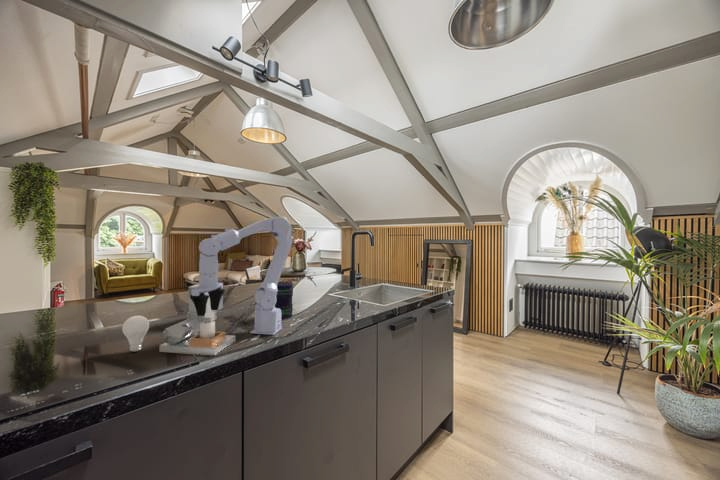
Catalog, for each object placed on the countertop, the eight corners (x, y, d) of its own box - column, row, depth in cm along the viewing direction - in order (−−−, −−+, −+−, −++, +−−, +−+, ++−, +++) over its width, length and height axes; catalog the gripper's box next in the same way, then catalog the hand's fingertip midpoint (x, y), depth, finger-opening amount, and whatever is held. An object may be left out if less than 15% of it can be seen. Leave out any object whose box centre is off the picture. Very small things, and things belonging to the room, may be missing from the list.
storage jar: (275, 313, 137) (276, 281, 137) (295, 314, 136) (296, 282, 135) (265, 319, 127) (266, 284, 127) (287, 320, 126) (288, 285, 126)
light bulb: (127, 357, 85) (127, 320, 85) (118, 352, 89) (118, 316, 88) (153, 350, 91) (153, 315, 90) (143, 345, 94) (143, 312, 94)
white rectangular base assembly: (235, 341, 100) (235, 319, 100) (214, 355, 88) (214, 330, 88) (186, 338, 102) (186, 316, 102) (159, 351, 90) (159, 327, 90)
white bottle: (217, 338, 96) (218, 317, 96) (208, 343, 92) (209, 320, 92) (206, 337, 97) (206, 316, 97) (196, 342, 93) (196, 319, 93)
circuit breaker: (224, 315, 131) (225, 282, 131) (204, 325, 117) (205, 287, 117) (208, 314, 132) (209, 281, 132) (187, 324, 118) (187, 286, 117)
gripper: (210, 270, 108) (209, 307, 108) (183, 275, 94) (182, 317, 94) (228, 271, 108) (227, 307, 108) (204, 276, 93) (203, 318, 93)
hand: (208, 312), depth 101 cm, fingers open, 7 cm apart
